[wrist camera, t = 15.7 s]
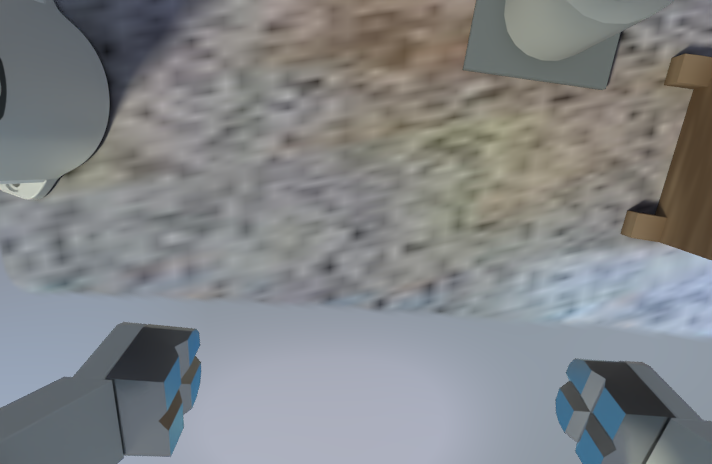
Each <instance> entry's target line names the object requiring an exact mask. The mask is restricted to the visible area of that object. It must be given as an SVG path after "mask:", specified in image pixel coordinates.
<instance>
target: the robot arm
mask: <svg viewBox="0 0 712 464" xmlns="http://www.w3.org/2000/svg"><path fill="white" fill-rule="evenodd" d="M109 108H110V98H109V89H108V83H107V79H106V75H105V72H104V69H103V66H102V64H101V61H100V59H99V57H98V55H97V53H96V52H95V50H94V48H93V47H92V45H91V44H90V42H89V41H88V40H87V38H86V37H85V36H84V35H83V34H82V33H81V31H80V30H79V29H78V28H77V27H75V26H74V25H73V24H72V23H71V22H70V21H69V20H68V19H66V18H65V17H64V16H63V15H62V14H61V12H60V11H59V10H58V9H57V7H56V5H55V3H54V1H53V0H0V190H2V191H4V192H7V193H10V194H12V195H15V196H18V197H20V198H23V199H27V200H36V199H41V198H43V197H44V196H45V195H46V194H47V193H48V192H49V191H50V189H51V188H52V187H53V185H54V184H55V182H56V181H57V179H58V178H59V177H61V176H62V175H64V174H65V173H67V172H69V171H71V170H73V169H75V168H77V167H78V166H80V165H81V164H82V163H84V162H85V161H86V160H87V159H88V158H89V157H90V156H91V155H92V154H93V153H94V151H95V150H96V148H97V147H98V145H99V144H100V142H101V140H102V138H103V135H104V133H105V130H106V127H107V123H108V118H109ZM19 183H20V184H19ZM199 346H200V337H199V332H198V330H197V329H192V328H182V327H172V326H161V325H151V324H148V325H147V324H139V323H128V322H123V323H120V324H118V325H117V326H116V327H115V328H114V329H113V330H112V331H111V333H110V334H109V335H108V336H107V337H106V338H105V340H104V341H103V342H102V343H101V344H100V345H99V347H98V348H97V349H96V350H95V351H94V353H93V354H92V355H91V356H90V357H89V358H88V360H87V361H86V362H85V363H84V364H83V365H82V367H81V368H80V369H79V370H78V371H77V373H76V374H75V375H74V376H73V377H63V378H61V379H59V380H57V381H54V382H52V383H50V384H49V385H46V386H44V387H42V388H40V389H38V390H36V391H34V392H32V393H30V394H28V395H26V396H24V397H22V398H20V399H18V400H16V401H14V402H12V403H10V404H8V405H6V406H4V407H1V408H0V464H117V463H119V462H120V461H121V460H122V459H123V458H124V455H128V456H162V457H170V456H171V455H172V453H173V451H174V448H175V446H176V444H177V442H178V439H179V437H180V435H181V433H182V430H183V428H184V421H183V415H184V414H185V413H187V412H188V411H189V410H191V409H192V407H193V405H194V402H195V400H196V397H197V394H198V390H199V386H200V379H201V362H200V361H199V360H198V358H197V357H196V356H195V355H196V353H197V351H198V348H199ZM566 374H567V376H568V379H569V382H567V383H566V384H565V385H563V386H562V387H561V388H560V389H559V391H558V394H557V397H556V415H557V418H558V421H559V424H560V425H561V427H562V429H563V431H564V433H565V434H567V435H568V436H569V437H570V438H572V439H573V440H574V441H576V442H577V445H576V450H575V451H576V454H577V455H578V457H579V459H580V460H581V462H582V464H712V422H711V421H704V420H702V419H701V418H700V416H699V415H697V413H696V412H695V411H694V410H693V409H692V408H691V407H690V406H689V405H688V404H687V403H686V402H685V401H684V400H683V399H682V398H681V397H680V396H679V395H678V394H677V393H676V392H675V391H674V390H673V389H672V388H671V387H670V386H669V385H668V384H667V383H666V382H665V381H664V380H663V379H662V378H661V377H660V376H659V375H658V374H657V373H656V372H655V371H654V370H653V369H652V368H651V367H650V366H649V365H647V364H645V363H643V362H630V361H619V362H616V361H602V360H588V359H574V360H573V361H572V362H571V363H570V364H569V366H568V369H567V371H566Z"/></svg>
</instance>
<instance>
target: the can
mask: <svg viewBox="0 0 712 464" xmlns="http://www.w3.org/2000/svg"><path fill="white" fill-rule="evenodd" d="M673 1H674V0H506V1H505V11H504V17H505V22H506V27H507V32H508V33H509V35H510V37H511V39H512V40H513V42H514V44H515V45H516V46H517V47H518V48H519V49H521V50H522V51H523V52H524V53H525V54H526V55H528V56H531V57H534V58H536V59H539V60H543V61H559V60H562V59H566V58H569V57H573V56H575V55H577V54H579V53H581V52H583V51H585V50H587V49H588V48H590V47H592V46H594V45H596V44H598V43H600V42H602V41H604V40H606V39H608V38H610V37H612V36H614V35H616V34H618V33H620V32H622V31H624V30H626V29H627V28H629V27H631V26H633V25H635V24H637V23H639V22H641V21H643V20H645V19H647V18H649V17H651V16H652V15H654V14H655V13H657V12H658V11H660V10H662V9H663V8H665V7H666V6H668V5H669V4H671V3H672V2H673Z"/></svg>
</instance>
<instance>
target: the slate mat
mask: <svg viewBox="0 0 712 464" xmlns="http://www.w3.org/2000/svg"><path fill="white" fill-rule="evenodd" d="M505 1H506V0H476V4H475V9H474V15H473V20H472V25H471V30H470V35H469V40H468V46H467V51H466V56H465V61H464V66H463V70H466V71H473V72H480V73H487V74H494V75H501V76H508V77H515V78H522V79H529V80H536V81H543V82H550V83H557V84H564V85H571V86H578V87H585V88H591V89H598V90H604V89H606V86H607V82H608V78H609V74H610V71H611V67H612V63H613V59H614V56H615V52H616V48H617V44H618V40H619V37H620V33H621V32H620V33H618V34H616V35H614V36H612V37H610V38H608V39H606V40H604V41H602V42H600V43H598V44H596V45H594V46H592V47H590V48H588V49H587V50H585V51H583V52H581V53H579V54H577V55H575V56H573V57H569V58H566V59H562V60H559V61H543V60H539V59H536V58H534V57H531V56H528V55H526V54H525V53H524V52H523V51H522V50H521V49H519V48H518V47H517V46H516V45H515V44H514V42H513V40H512V39H511V37H510V35H509V33H508V32H507V27H506V22H505V17H504V11H505Z"/></svg>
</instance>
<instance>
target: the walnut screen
mask: <svg viewBox="0 0 712 464" xmlns="http://www.w3.org/2000/svg"><path fill="white" fill-rule="evenodd" d="M664 85H667V86H674V87H681V88H688V89H694V90H693V93H692V96H691V100H690V103H689V106H688V109H687V113H686V116H685V119H684V122H683V126H682V129H681V132H680V135H679V139H678V142H677V145H676V149H675V152H674V155H673V158H672V162H671V165H670V168H669V171H668V175H667V178H666V181H665V184H664V188H663V191H662V194H661V197H660V201H659V204H658V207H657V210H656V214H655V215H653V214H646V213H640V212H634V211H627V214H626V217H625V220H624V224H623V227H622V231H621V234H622V235H625V236H628V237H631V238H637V239H643V240H649V241H655V242H660V243H663V244H666V245H669V246H672V247H675V248H678V249H681V250H683V251H686V252H689V253H692V254H695V255H698V256H701V257H704V258H707V259H709V260H712V57H707V56H700V55H692V54H683V55H680V56H677V57H673V58H672V59H671V63H670V66H669V70H668V73H667V77H666V80H665V83H664Z"/></svg>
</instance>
